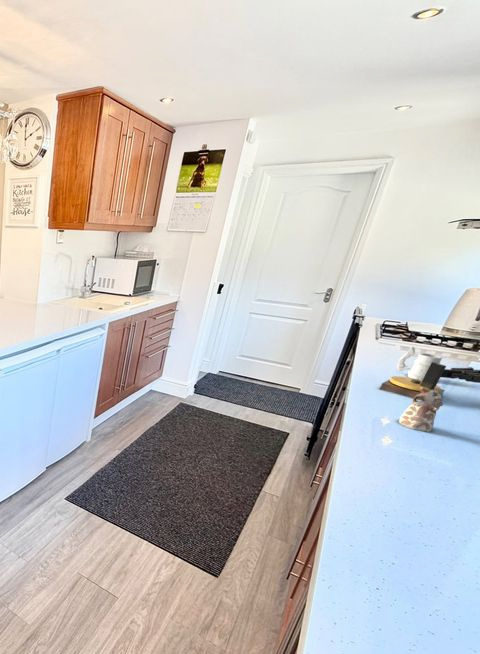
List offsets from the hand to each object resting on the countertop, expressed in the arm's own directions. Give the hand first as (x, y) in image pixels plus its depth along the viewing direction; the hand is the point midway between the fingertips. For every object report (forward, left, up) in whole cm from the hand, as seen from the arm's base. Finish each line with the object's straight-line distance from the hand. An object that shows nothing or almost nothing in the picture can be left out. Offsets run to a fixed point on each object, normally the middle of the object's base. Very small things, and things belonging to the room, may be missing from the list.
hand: (436, 372), depth 143 cm
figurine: (-5, +38, -10) cm, 40 cm away
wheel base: (+4, -1, -9) cm, 10 cm away
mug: (+9, -28, -10) cm, 31 cm away
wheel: (+4, -1, -7) cm, 8 cm away
